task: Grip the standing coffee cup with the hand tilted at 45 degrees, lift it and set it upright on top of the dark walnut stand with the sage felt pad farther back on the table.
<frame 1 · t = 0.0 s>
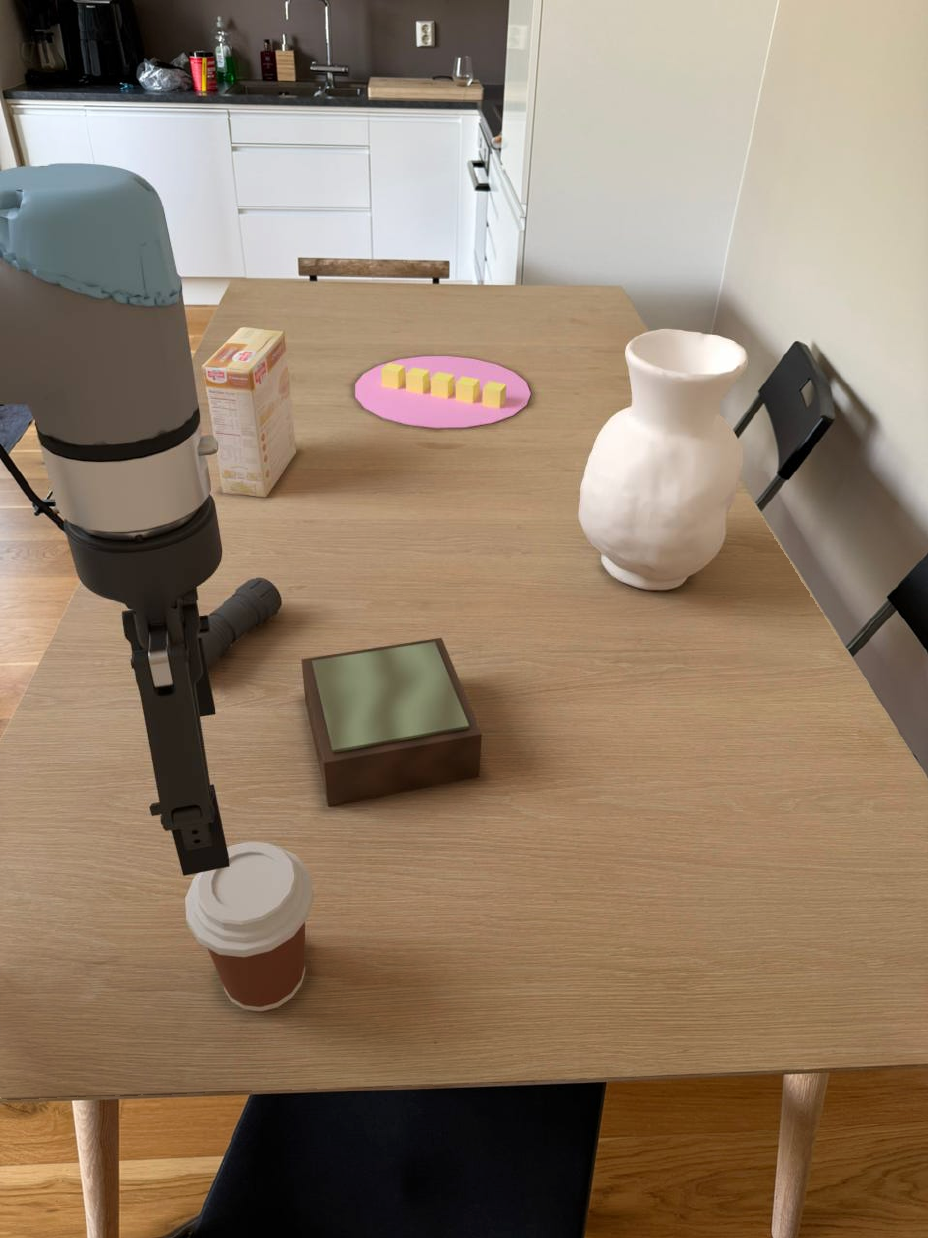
hand: (200, 784, 59), 21 cm above the table, tool pointing down, fingers open, 13 cm apart
stand: (388, 738, 91), on the table
vase: (643, 571, 117), on the table
coffeecake box: (260, 473, 135), on the table
coffee cup: (264, 974, 71), on the table
platter: (442, 390, 162), on the table
flashlight: (226, 647, 102), on the table
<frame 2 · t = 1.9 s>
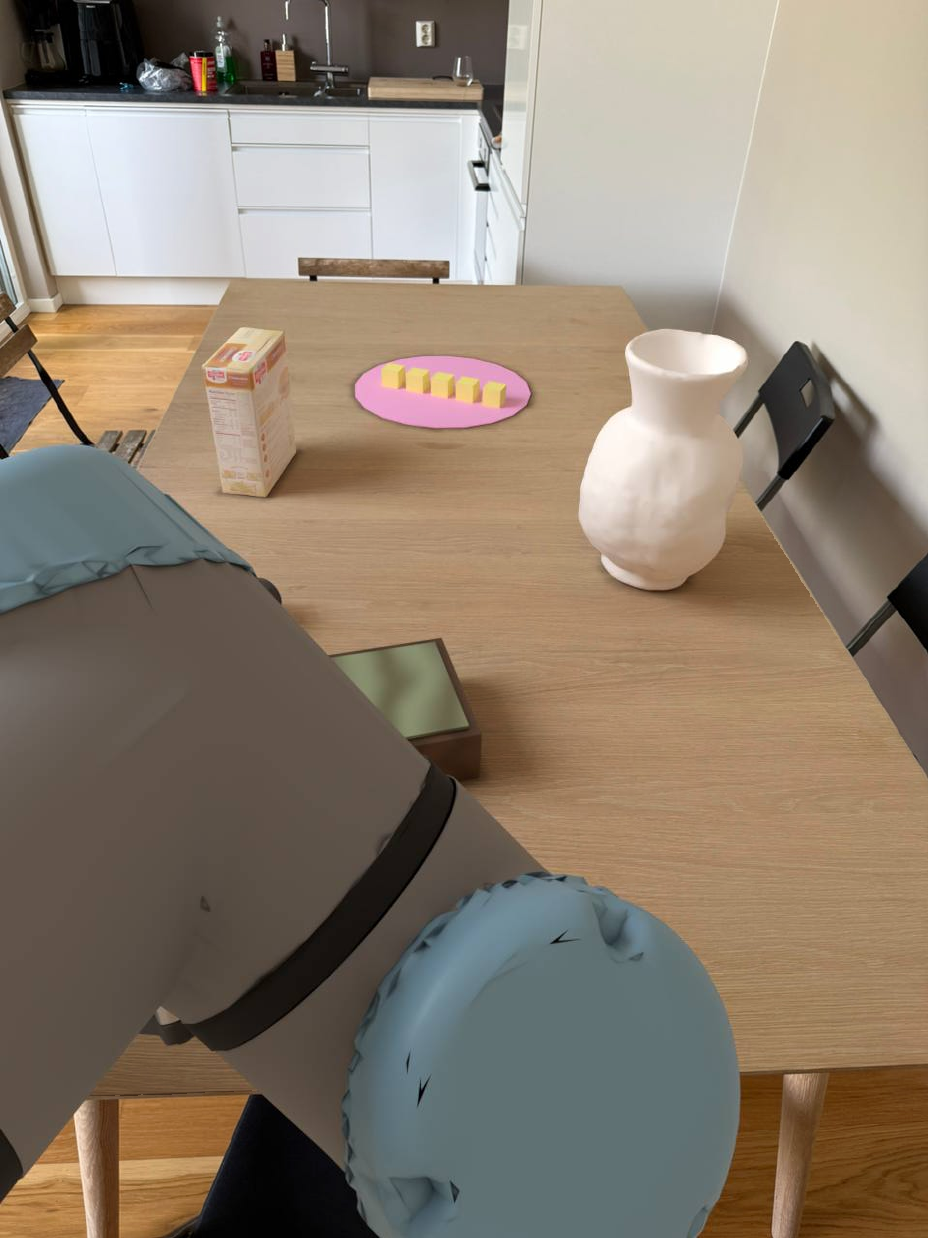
hand: (274, 890, 49), 24 cm above the table, tool tilted 45°, fingers open, 13 cm apart
nothing on the table moved.
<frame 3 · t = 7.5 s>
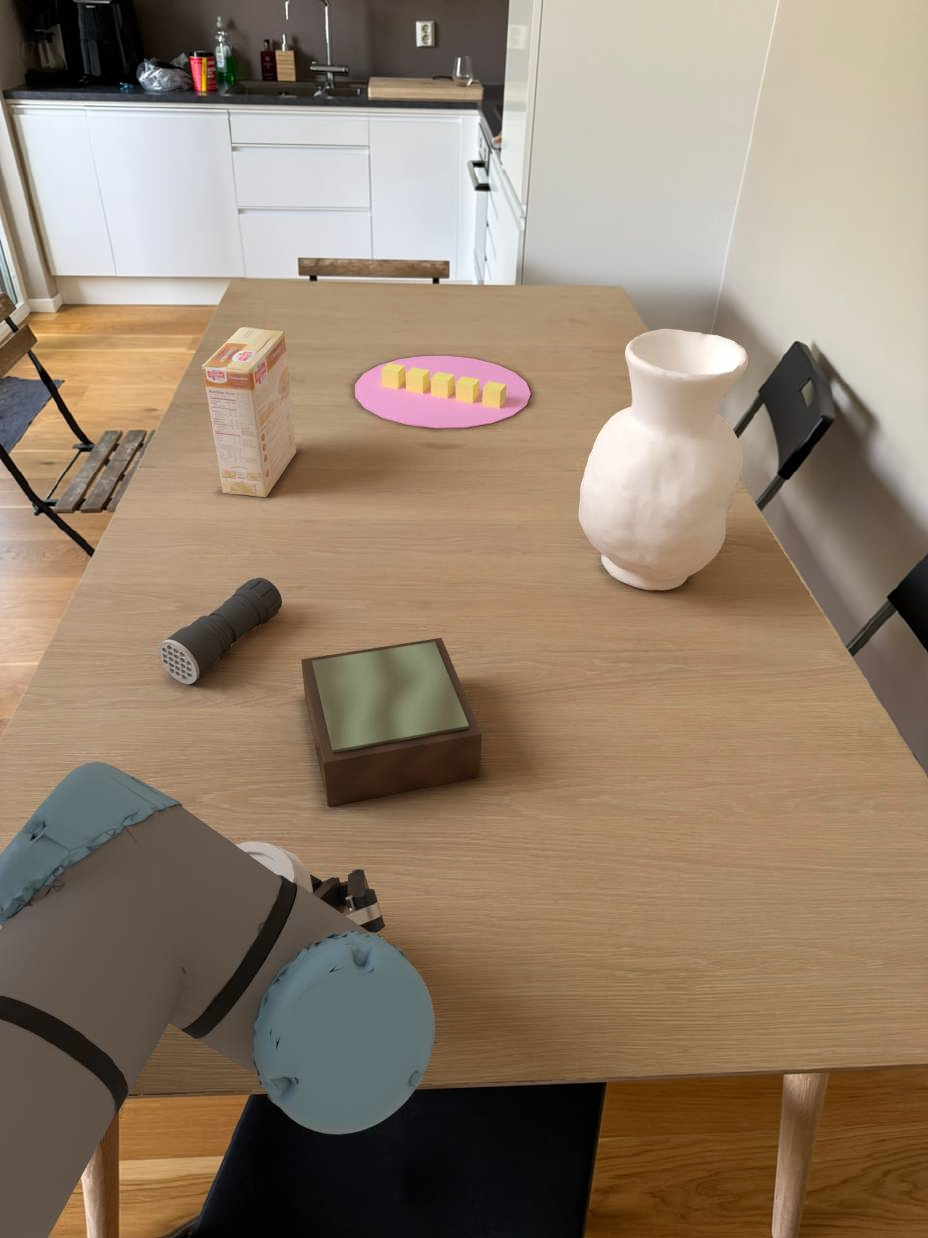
hand: (247, 912, 70), 4 cm above the table, tool tilted 45°, fingers closed on coffee cup, 9 cm apart
coffee cup: (264, 974, 71), on the table, touching gripper
everything else where it was.
when the fingers open (10 cm above the table, at t = 16.4 s): coffee cup stays where it is, resting on stand.
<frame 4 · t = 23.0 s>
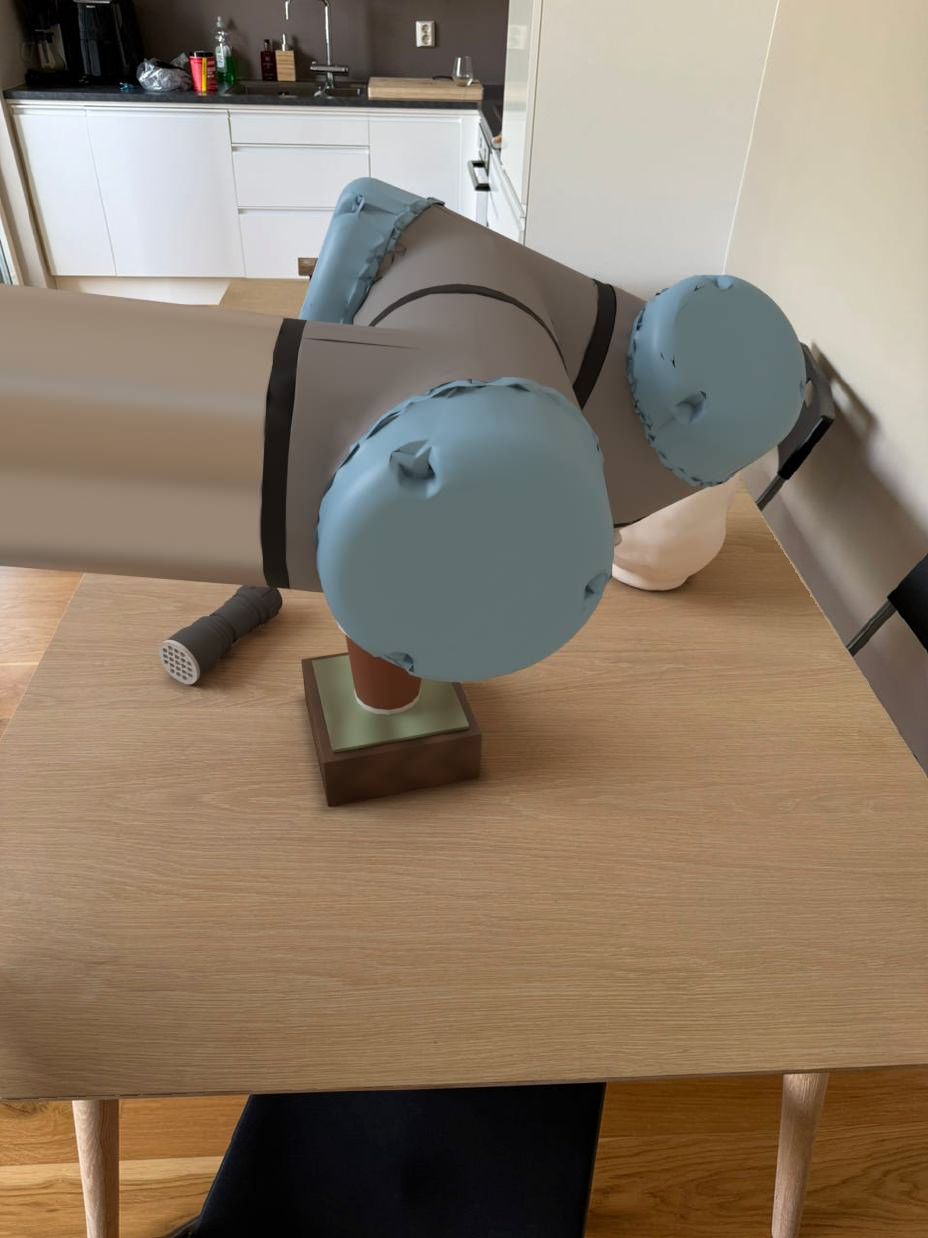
hand: (437, 569, 67), 28 cm above the table, tool tilted 45°, fingers open, 13 cm apart
coffee cup: (387, 693, 88), point 6 cm above the table, touching stand
everything else where it was.
at the end: coffee cup inside the target area on the stand (0.1 cm from its centre), point 6.2 cm above the stand's base; coffee cup tilted 0°; the gripper is holding nothing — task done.
